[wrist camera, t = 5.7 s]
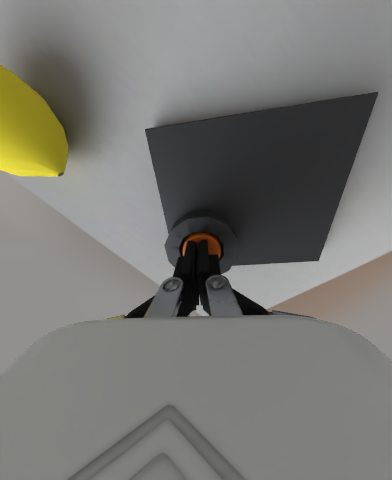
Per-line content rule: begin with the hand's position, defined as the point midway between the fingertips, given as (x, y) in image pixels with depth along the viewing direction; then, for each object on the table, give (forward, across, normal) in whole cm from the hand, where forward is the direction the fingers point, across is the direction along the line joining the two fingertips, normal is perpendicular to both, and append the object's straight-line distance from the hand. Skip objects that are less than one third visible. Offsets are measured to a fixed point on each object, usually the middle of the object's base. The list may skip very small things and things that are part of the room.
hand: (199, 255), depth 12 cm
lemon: (+3, +11, -10) cm, 15 cm away
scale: (+3, -4, -3) cm, 6 cm away
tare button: (+2, 0, 0) cm, 2 cm away
